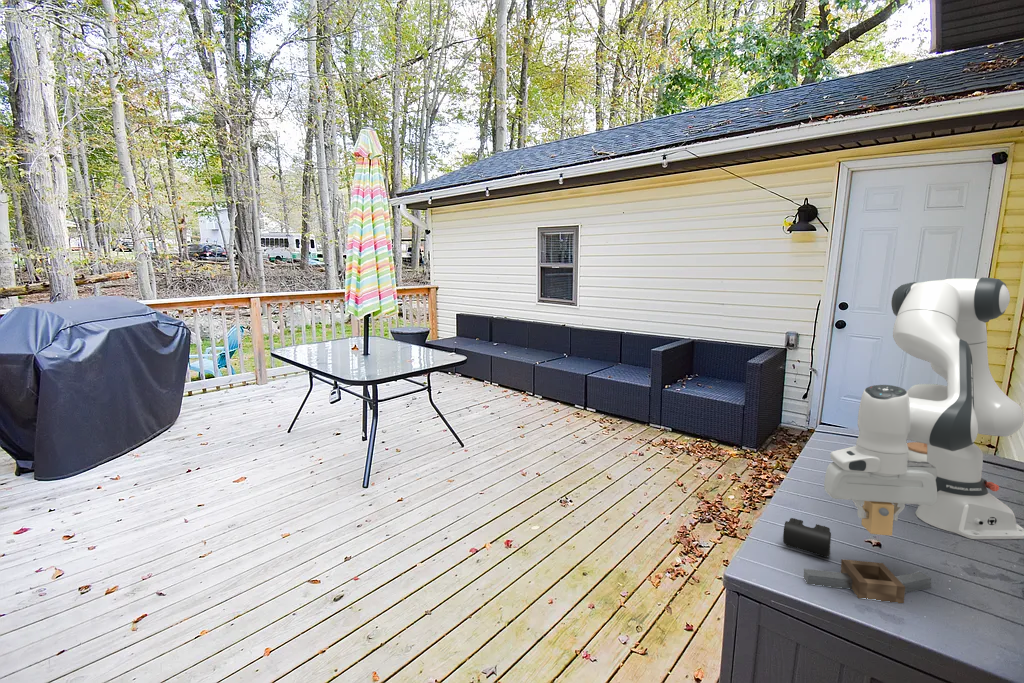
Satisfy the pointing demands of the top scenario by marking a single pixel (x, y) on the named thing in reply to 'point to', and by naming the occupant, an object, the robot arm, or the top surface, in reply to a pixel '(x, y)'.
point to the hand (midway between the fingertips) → (876, 518)
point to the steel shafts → (844, 580)
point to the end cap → (807, 537)
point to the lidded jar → (917, 451)
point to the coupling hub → (873, 581)
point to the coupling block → (879, 517)
